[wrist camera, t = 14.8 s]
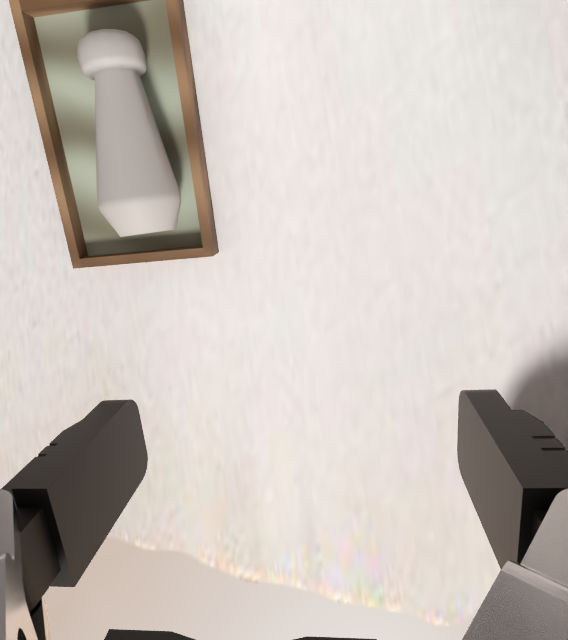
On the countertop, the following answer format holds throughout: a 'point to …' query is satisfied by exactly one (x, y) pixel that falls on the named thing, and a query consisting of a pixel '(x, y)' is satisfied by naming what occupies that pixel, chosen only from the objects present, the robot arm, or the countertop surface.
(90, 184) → the tray
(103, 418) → the robot arm
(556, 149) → the countertop surface
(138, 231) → the salt shaker
